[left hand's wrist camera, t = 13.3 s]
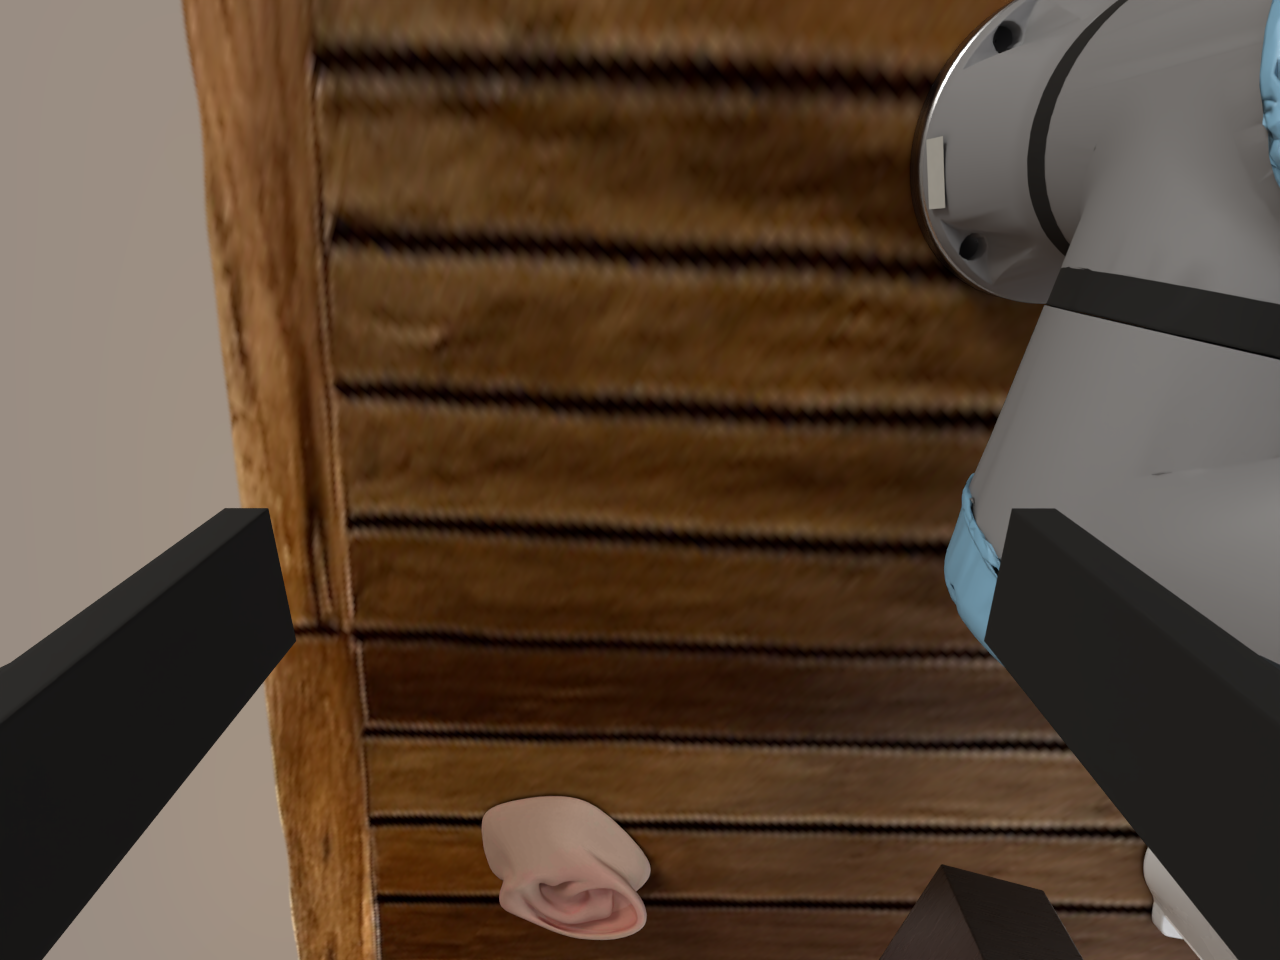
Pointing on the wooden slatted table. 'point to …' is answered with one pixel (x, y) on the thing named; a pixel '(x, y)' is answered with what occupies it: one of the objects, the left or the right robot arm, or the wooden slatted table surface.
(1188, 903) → the right robot arm
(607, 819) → the anatomical model
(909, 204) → the wooden slatted table surface
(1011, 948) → the box
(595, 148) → the wooden slatted table surface
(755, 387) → the wooden slatted table surface
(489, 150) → the wooden slatted table surface
